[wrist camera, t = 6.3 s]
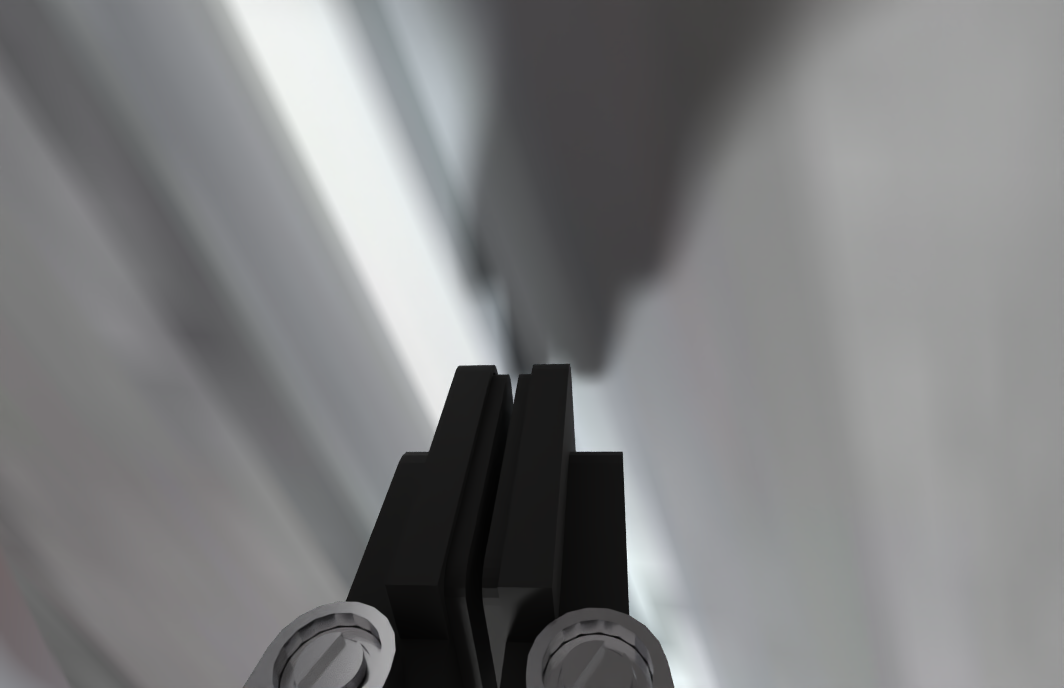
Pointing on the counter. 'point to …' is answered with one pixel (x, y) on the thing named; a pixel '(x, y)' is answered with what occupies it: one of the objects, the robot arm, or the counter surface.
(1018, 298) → the counter surface
